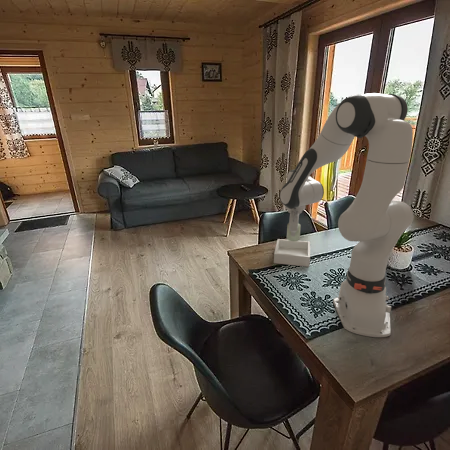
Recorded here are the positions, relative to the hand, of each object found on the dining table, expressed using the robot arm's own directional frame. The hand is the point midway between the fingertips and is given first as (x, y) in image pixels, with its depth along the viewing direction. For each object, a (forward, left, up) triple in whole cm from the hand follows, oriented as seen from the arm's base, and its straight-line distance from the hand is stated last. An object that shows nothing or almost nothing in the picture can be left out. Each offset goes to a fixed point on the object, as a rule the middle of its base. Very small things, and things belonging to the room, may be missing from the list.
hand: (293, 232), depth 135 cm
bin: (0, 0, -13) cm, 13 cm away
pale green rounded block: (0, 0, -3) cm, 3 cm away
